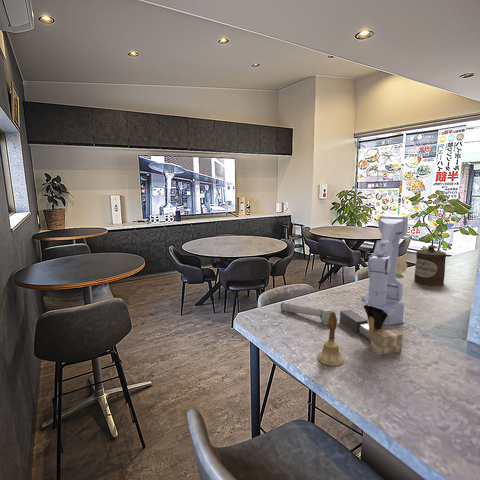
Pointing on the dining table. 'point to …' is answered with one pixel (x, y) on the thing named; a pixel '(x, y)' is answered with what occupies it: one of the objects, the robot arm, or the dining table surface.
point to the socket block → (386, 341)
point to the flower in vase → (400, 268)
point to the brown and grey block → (368, 328)
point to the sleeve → (351, 320)
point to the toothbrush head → (307, 311)
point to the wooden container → (430, 267)
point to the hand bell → (331, 346)
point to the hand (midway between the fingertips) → (375, 327)
